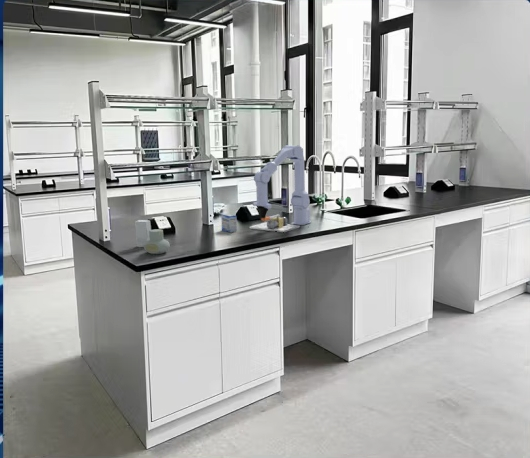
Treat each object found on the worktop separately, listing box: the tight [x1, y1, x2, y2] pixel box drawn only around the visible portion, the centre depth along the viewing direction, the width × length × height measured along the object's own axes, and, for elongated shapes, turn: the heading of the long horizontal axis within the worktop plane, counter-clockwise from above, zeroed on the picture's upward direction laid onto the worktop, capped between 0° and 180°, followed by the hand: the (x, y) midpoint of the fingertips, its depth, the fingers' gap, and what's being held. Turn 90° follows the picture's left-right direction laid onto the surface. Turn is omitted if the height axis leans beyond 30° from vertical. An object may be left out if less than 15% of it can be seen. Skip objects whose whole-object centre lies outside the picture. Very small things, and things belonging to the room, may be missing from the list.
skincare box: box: [134, 219, 152, 248], centre depth 222 cm, size 6×4×12 cm
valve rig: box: [249, 216, 301, 233], centre depth 260 cm, size 16×22×6 cm
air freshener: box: [143, 228, 171, 255], centre depth 210 cm, size 11×8×10 cm
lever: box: [260, 214, 281, 222], centre depth 254 cm, size 14×3×1 cm, turn 142°
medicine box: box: [220, 213, 238, 233], centre depth 254 cm, size 8×4×9 cm, turn 40°
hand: (262, 220), depth 253 cm, fingers closed
